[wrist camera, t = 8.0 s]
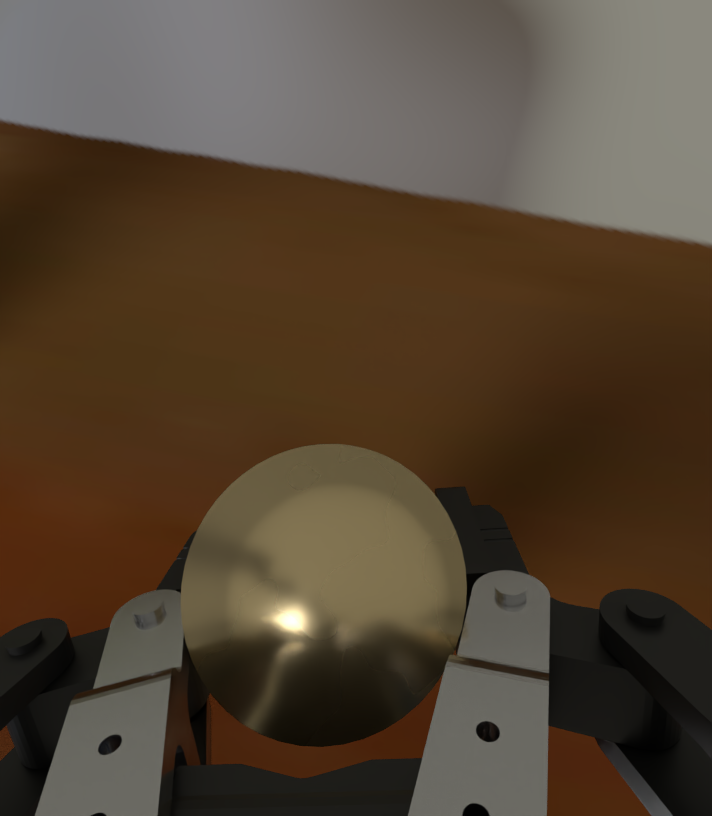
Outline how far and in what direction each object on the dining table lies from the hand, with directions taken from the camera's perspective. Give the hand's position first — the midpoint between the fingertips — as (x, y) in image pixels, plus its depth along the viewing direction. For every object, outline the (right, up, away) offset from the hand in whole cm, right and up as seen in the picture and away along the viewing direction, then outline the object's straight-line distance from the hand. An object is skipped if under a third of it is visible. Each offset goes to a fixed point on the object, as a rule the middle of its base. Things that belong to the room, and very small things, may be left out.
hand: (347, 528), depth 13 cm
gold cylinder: (+1, -4, +3) cm, 5 cm away
